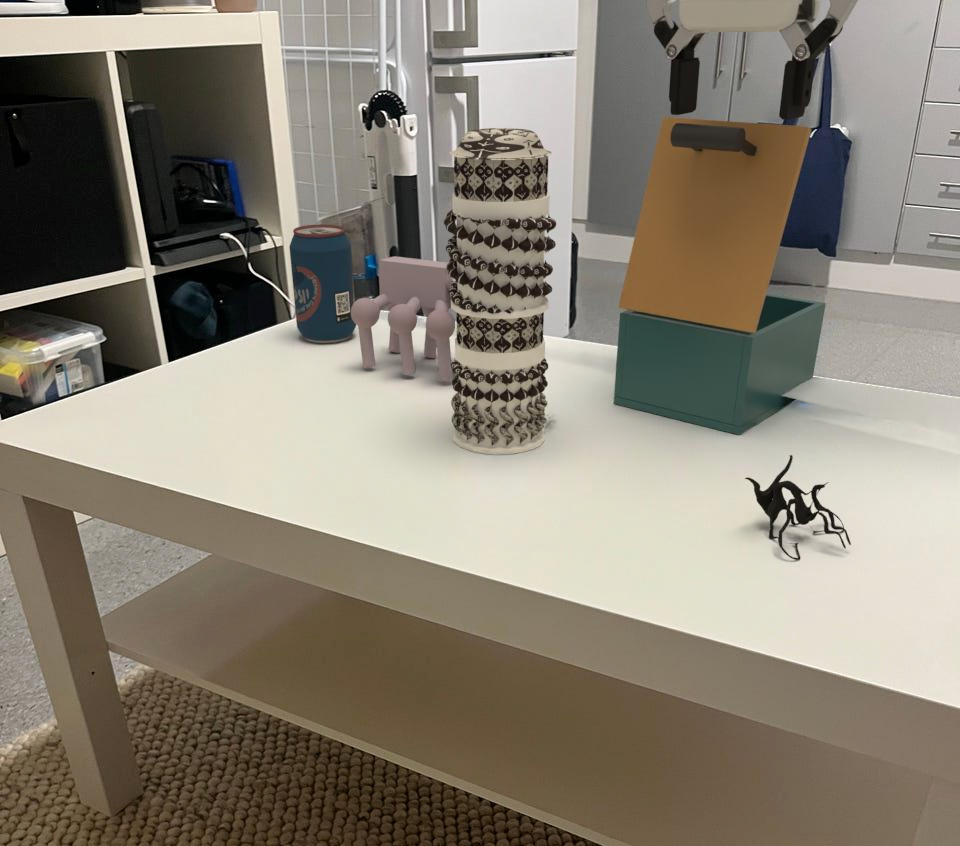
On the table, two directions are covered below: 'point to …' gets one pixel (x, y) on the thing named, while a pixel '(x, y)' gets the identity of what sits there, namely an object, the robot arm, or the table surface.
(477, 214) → the decorative candle
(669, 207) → the lid
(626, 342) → the teal open box
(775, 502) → the creature
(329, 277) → the soda can
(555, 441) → the table surface
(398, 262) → the pink pegged block
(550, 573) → the table surface
